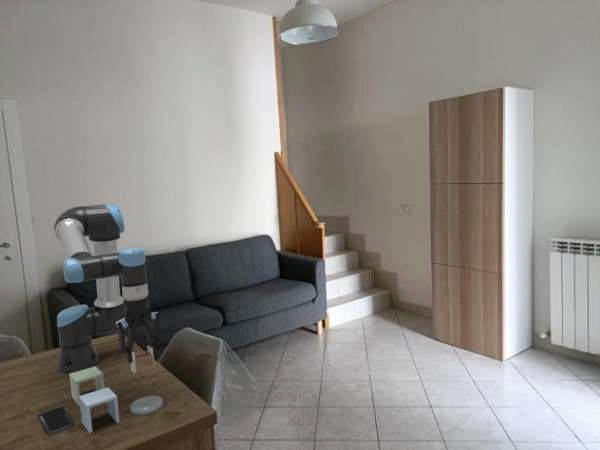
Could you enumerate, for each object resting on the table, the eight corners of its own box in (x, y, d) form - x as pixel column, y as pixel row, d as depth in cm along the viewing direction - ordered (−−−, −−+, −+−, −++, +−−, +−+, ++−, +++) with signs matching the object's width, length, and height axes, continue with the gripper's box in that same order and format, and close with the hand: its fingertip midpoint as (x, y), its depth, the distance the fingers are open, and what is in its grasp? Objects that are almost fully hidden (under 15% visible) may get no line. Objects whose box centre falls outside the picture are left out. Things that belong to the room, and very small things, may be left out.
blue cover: (81, 422, 142) (78, 396, 141) (110, 412, 147) (108, 387, 146) (89, 433, 135) (86, 406, 134) (119, 422, 141) (116, 396, 140)
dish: (126, 406, 150) (125, 403, 150) (155, 396, 156) (155, 393, 156) (137, 418, 142) (136, 414, 142) (168, 406, 148) (167, 403, 148)
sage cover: (71, 397, 159) (69, 373, 158) (98, 388, 165) (95, 366, 164) (78, 405, 153) (75, 381, 152) (105, 396, 158) (102, 373, 157)
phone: (47, 433, 135) (37, 414, 147) (47, 436, 135) (37, 417, 147) (76, 423, 140) (64, 405, 152) (76, 426, 140) (64, 408, 152)
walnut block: (132, 370, 148) (131, 355, 148) (147, 365, 151) (146, 351, 151) (138, 375, 144) (136, 359, 144) (153, 370, 147) (152, 354, 147)
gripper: (110, 306, 137) (117, 381, 139) (168, 293, 148) (174, 363, 150) (102, 301, 143) (110, 374, 145) (159, 290, 154) (165, 357, 156)
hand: (142, 368), depth 148 cm, fingers closed on walnut block, 5 cm apart
